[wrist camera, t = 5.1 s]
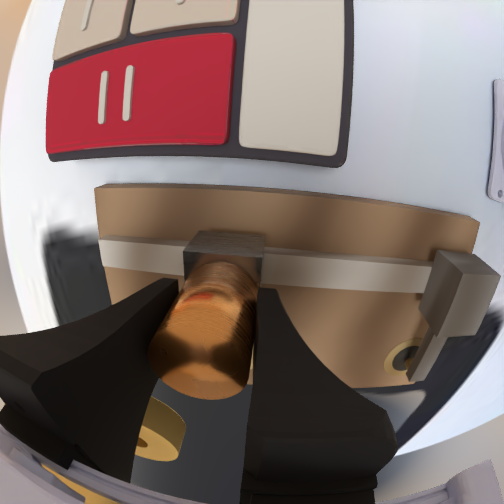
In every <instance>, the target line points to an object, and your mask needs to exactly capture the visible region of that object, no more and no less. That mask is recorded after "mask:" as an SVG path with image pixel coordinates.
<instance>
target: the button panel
mask: <svg viewBox="0 0 504 504" xmlns="http://www.w3.org/2000/svg"><path fill="white" fill-rule="evenodd" d="M53 60H54V64H53V71H52V72H51V73H50V77H49V86H48V97H47V111H46V152H47V153H48V156H49V159H50V160H51V161H52V162H58V161H68V160H79V159H91V158H107V157H129V156H205V157H227V158H244V159H257V160H269V161H280V162H289V163H298V164H307V165H315V166H322V167H330V168H338V167H341V166H342V165H343V164H344V163H345V161H346V157H347V149H348V139H349V129H350V117H351V103H352V86H353V61H354V10H353V0H66V1H65V4H64V7H63V11H62V15H61V19H60V22H59V27H58V31H57V35H56V40H55V45H54V51H53Z"/></svg>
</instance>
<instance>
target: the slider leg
mask: <svg viewBox="0 0 504 504" xmlns="http://www.w3.org/2000/svg"><path fill="white" fill-rule="evenodd" d="M264 247H265V235H255V234H242V233H229V232H215V231H201V230H199V231H198V232H197V234H196V235H195V236H194V237H193V239H192V240H191V241H190V242H189V244H188V245H187V246H186V247H185V249H184V250H183V265H184V280H185V283H184V285H183V287H182V289H181V290H180V292H179V294H178V295H177V297H176V299H175V300H174V302H173V304H172V305H171V307H170V309H169V311H168V312H167V314H166V316H165V317H164V319H163V321H162V323H161V324H160V326H159V328H158V330H157V331H156V333H155V335H154V337H153V339H152V340H151V342H150V344H149V347H148V359H149V362H150V365H151V367H152V369H153V370H154V372H155V373H156V374H157V375H158V377H159V378H160V379H161V380H162V381H164V382H165V383H166V384H167V385H169V386H170V387H172V388H174V389H175V390H177V391H179V392H181V393H183V394H186V395H189V396H192V397H196V398H201V399H223V398H227V397H230V396H233V395H235V394H237V393H238V392H240V391H241V390H242V389H243V388H244V387H245V386H246V384H247V382H248V380H249V374H250V366H251V359H252V351H253V344H254V336H255V318H256V305H257V294H258V288H259V287H262V274H263V261H264Z"/></svg>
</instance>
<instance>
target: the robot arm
mask: <svg viewBox="0 0 504 504" xmlns="http://www.w3.org/2000/svg"><path fill="white" fill-rule="evenodd" d="M494 99H495V119H494V141H493V153H492V163H491V171H490V178H489V185H488V196H489V197H490V198H491V199H493V200H496V201H499V202H503V203H504V81H502V80H500V79H496V80H495V81H494ZM498 191H499V194H498ZM178 294H179V285H178V279H172V278H164V277H163V278H161V279H159V280H157V281H155V282H153V283H151V284H150V285H148V286H146V287H144V288H143V289H141V290H139V291H137V292H136V293H134V294H132V295H130V296H129V297H127V298H125V299H123V300H121V301H119V302H117V303H115V304H113V305H111V306H110V307H108V308H106V309H104V310H102V311H99V312H97V313H95V314H93V315H90V316H88V317H85V318H83V319H80V320H77V321H74V322H71V323H68V324H65V325H62V326H58V327H55V328H51V329H47V330H43V331H37V332H32V333H26V334H17V335H7V336H0V397H1V399H2V400H3V402H4V403H5V405H4V407H3V409H2V410H1V411H0V504H85V503H84V502H85V500H86V499H85V497H84V496H82V495H81V494H79V493H78V492H76V491H74V490H73V489H71V488H70V487H69V486H67V485H66V484H65V483H63V482H62V481H61V480H60V479H58V478H57V477H56V476H55V475H54V474H52V473H51V472H49V471H48V470H47V469H45V468H44V467H42V464H43V465H44V466H46V467H48V468H49V469H51V470H52V471H54V472H56V473H58V474H59V475H61V476H63V477H65V478H66V479H68V480H70V481H72V482H74V483H76V484H78V485H80V486H82V487H84V488H86V489H88V490H90V491H92V492H94V493H96V494H98V495H101V496H103V497H105V498H108V499H110V500H112V501H115V502H117V503H120V504H205V503H200V502H195V501H190V500H185V499H181V498H176V497H173V496H169V495H165V494H161V493H157V492H154V491H151V490H147V489H144V488H141V487H138V486H135V485H132V484H130V479H131V473H132V467H133V460H134V456H135V451H136V447H137V442H138V438H139V434H140V430H141V426H142V423H143V419H144V416H145V412H146V409H147V406H148V403H149V400H150V397H151V394H152V392H153V389H154V387H155V384H156V382H157V380H158V378H159V377H158V375H157V374H156V373H155V372H154V370H153V369H152V367H151V365H150V362H149V359H148V347H149V344H150V342H151V340H152V339H153V337H154V335H155V333H156V331H157V330H158V328H159V326H160V324H161V323H162V321H163V319H164V317H165V316H166V314H167V312H168V311H169V309H170V307H171V305H172V304H173V302H174V300H175V299H176V297H177V295H178ZM397 450H398V443H397V439H396V435H395V431H394V429H393V426H392V424H391V421H390V419H389V416H388V414H387V411H386V410H384V409H383V408H381V407H379V406H378V405H376V404H375V403H373V402H371V401H369V400H368V399H366V398H364V397H363V396H362V395H360V394H359V393H357V392H356V391H355V390H353V389H352V388H351V387H349V386H348V385H347V384H345V383H344V382H343V381H342V380H340V379H339V378H338V377H337V376H336V375H335V374H334V373H333V372H332V371H331V370H329V369H328V368H327V367H326V366H325V365H324V364H323V363H322V362H321V361H320V360H319V358H318V357H317V356H316V355H315V354H314V353H313V352H312V350H311V349H310V348H309V347H308V345H307V344H306V343H305V341H304V340H303V339H302V337H301V336H300V334H299V333H298V331H297V330H296V328H295V326H294V325H293V323H292V321H291V319H290V318H289V316H288V314H287V312H286V310H285V308H284V306H283V304H282V302H281V299H280V296H279V293H278V291H277V290H276V289H274V288H262V287H259V288H258V294H257V305H256V318H255V336H254V345H253V388H252V395H251V403H250V409H249V416H248V423H247V433H246V446H245V458H244V468H243V476H242V483H241V491H240V493H241V495H240V504H504V501H503V498H502V494H501V490H500V487H499V483H498V480H497V477H496V474H495V471H494V468H493V465H492V462H491V460H490V459H488V460H486V461H484V462H482V463H480V464H477V465H475V466H473V467H470V468H468V469H466V470H464V471H462V472H460V473H459V474H457V475H455V476H454V477H453V478H451V479H450V480H449V481H448V482H447V483H446V484H443V485H440V486H437V487H434V488H431V489H428V490H425V491H422V492H419V493H415V494H411V495H408V496H404V497H400V498H396V499H392V500H387V501H382V502H377V503H375V499H374V491H373V489H375V488H376V487H377V477H376V474H377V473H378V472H379V471H380V470H381V469H382V468H383V467H384V466H385V465H386V464H387V463H388V462H389V461H390V460H391V459H392V458H393V457H394V455H395V454H396V453H397Z"/></svg>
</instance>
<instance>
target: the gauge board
mask: <svg viewBox="0 0 504 504" xmlns="http://www.w3.org/2000/svg"><path fill="white" fill-rule="evenodd" d="M94 191H95V203H96V213H97V221H98V229H99V237H100V239H99V247H100V253H101V259H102V264H103V266H104V267H105V273H106V278H107V283H108V288H109V292H110V297H111V301H112V305H113V304H115V303H117V302H119V301H121V300H123V299H125V298H127V297H129V296H130V295H132V294H134V293H136V292H137V291H139V290H141V289H143V288H144V287H146V286H148V285H150V284H151V283H153V282H155V281H157V280H159V279H161V278H163V277H164V278H172V279H178V285H179V292H180V290H181V289H182V287H183V285H184V283H185V280H184V265H183V250H184V249H185V247H186V246H187V245H188V244H189V242H190V241H191V240H192V239H193V237H194V236H195V235H196V234H197V232H198V231H199V230H201V231H215V232H229V233H242V234H255V235H265V247H264V261H263V274H262V288H274V289H276V290H277V291H278V293H279V296H280V299H281V302H282V304H283V306H284V308H285V310H286V312H287V314H288V316H289V318H290V319H291V321H292V323H293V325H294V326H295V328H296V330H297V331H298V333H299V334H300V336H301V337H302V339H303V340H304V341H305V343H306V344H307V345H308V347H309V348H310V349H311V350H312V352H313V353H314V354H315V355H316V356H317V357H318V358H319V360H320V361H321V362H322V363H323V364H324V365H325V366H326V367H327V368H328V369H329V370H331V371H332V372H333V373H334V374H335V375H336V376H337V377H338V378H339V379H340V380H342V381H343V382H344V383H345V384H347V385H348V386H349V387H351V388H364V387H382V386H395V385H406V384H414V383H415V381H422V380H424V379H425V377H426V376H427V374H428V372H429V371H430V369H431V367H432V365H433V364H434V362H435V360H436V358H437V356H438V355H439V353H440V351H441V349H442V347H443V345H444V343H445V341H446V339H447V337H455V336H466V335H475V334H476V332H477V330H478V328H479V326H480V324H481V322H482V320H483V318H484V316H485V314H486V311H487V309H488V307H489V305H490V302H491V300H492V298H493V295H494V293H495V290H496V288H497V285H498V283H499V280H500V277H501V276H500V275H499V274H498V273H497V272H496V271H494V270H493V269H492V268H491V267H490V266H488V265H487V264H486V263H485V262H484V261H482V260H481V259H480V258H479V257H477V256H476V255H475V254H472V251H473V248H474V244H475V241H476V237H477V233H478V229H479V225H480V222H478V221H476V220H475V219H473V218H471V217H469V216H464V215H460V214H455V213H450V212H445V211H440V210H435V209H429V208H424V207H418V206H412V205H406V204H400V203H394V202H387V201H381V200H374V199H367V198H359V197H352V196H344V195H335V194H327V193H317V192H308V191H297V190H286V189H274V188H260V187H245V186H227V185H203V184H105V185H102V186H99V187H96V188H94ZM253 345H254V344H253ZM247 384H253V351H252V359H251V366H250V374H249V380H248V382H247Z"/></svg>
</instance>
